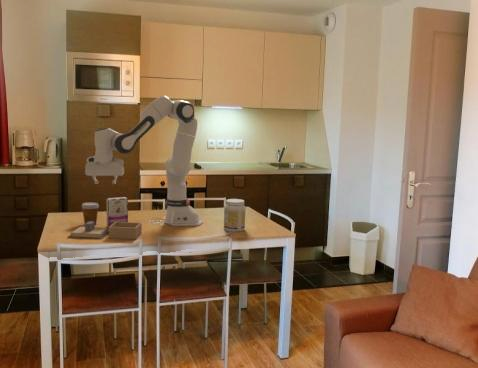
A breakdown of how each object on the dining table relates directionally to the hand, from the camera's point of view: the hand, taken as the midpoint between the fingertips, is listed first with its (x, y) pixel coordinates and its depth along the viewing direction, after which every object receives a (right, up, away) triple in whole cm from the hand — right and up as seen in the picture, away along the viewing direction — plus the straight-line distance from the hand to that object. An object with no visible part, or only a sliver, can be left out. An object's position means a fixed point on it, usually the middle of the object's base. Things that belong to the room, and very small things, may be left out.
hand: (105, 183), depth 263 cm
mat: (-7, -27, -5) cm, 28 cm away
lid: (-7, -26, -5) cm, 28 cm away
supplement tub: (+69, -26, +16) cm, 76 cm away
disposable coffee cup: (-13, -23, +16) cm, 31 cm away
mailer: (+12, -27, -5) cm, 30 cm away
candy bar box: (+3, -24, +14) cm, 28 cm away
